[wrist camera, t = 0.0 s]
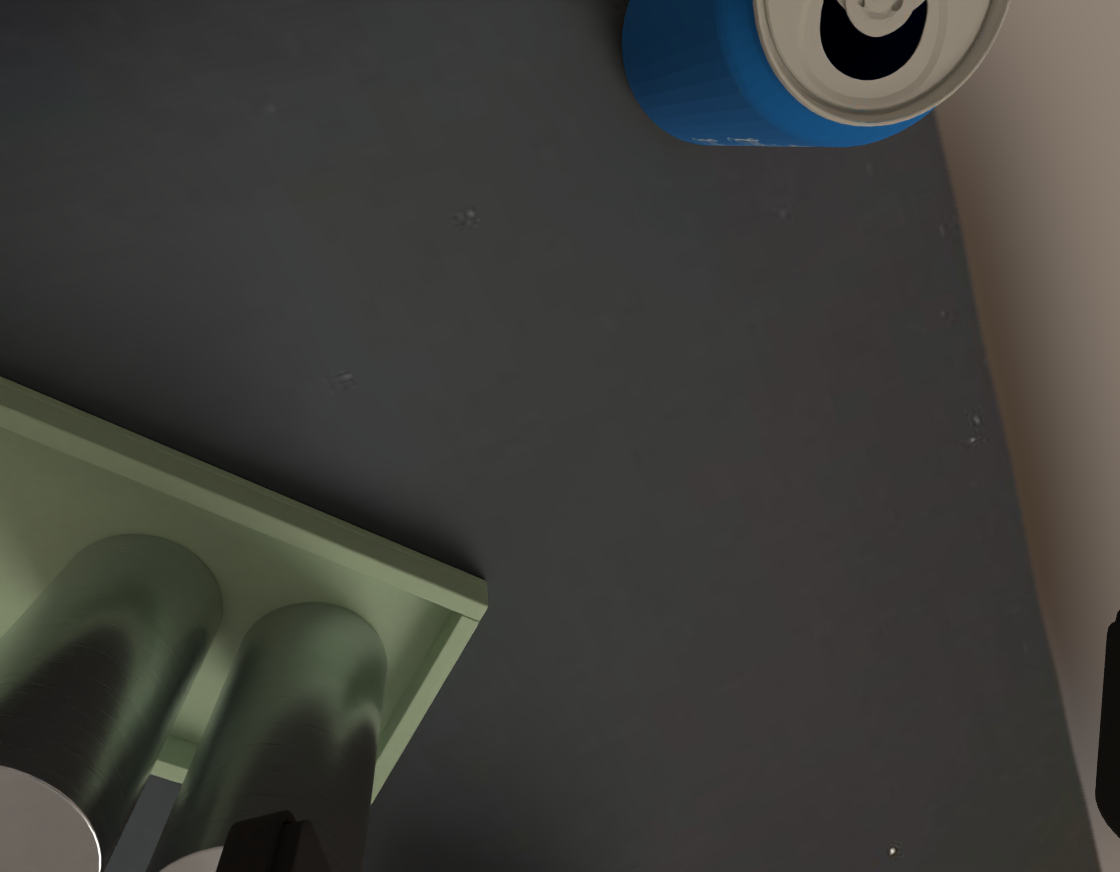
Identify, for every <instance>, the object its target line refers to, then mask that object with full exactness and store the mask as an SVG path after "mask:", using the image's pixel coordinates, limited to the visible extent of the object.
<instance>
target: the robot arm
mask: <svg viewBox="0 0 1120 872" xmlns="http://www.w3.org/2000/svg"><path fill="white" fill-rule="evenodd" d="M1102 696H1103V697H1102V709H1101V722H1100V735H1099V736H1100V737H1099V748H1098V762H1097V776H1096V789H1095V797H1096V802H1097V805H1098V808H1099V811H1100V813H1101V815H1102V817H1103V818H1104V820H1105V822H1106V823H1107V825H1108V826H1109V827H1110V828H1111V829H1112V831H1113V832H1114V833H1115V834H1117V836H1118V837H1119V838H1120V610H1119V612H1118V613H1117V617H1116V621H1115V622H1113V623H1112V624H1111V625H1110V626H1109V628H1108V632H1107V641H1106V655H1105V669H1104V681H1103V695H1102ZM216 872H331V869H330V867H329V864H328V862H327V859H326V857H325V854H324V852H323V849H322V847H321V844H320V842H319V839H318V837H317V834H316V832H315V829H314V827H313V825H312V823H311V822H310V821H309V820H308V819H307V820H302V821H298V822H297V821H296V819H295V817H294V816H293V814H292V813H291V812H290V811H289V810H283V811H279V812H275V813H271V814H267V815H263V816H259V817H255V818H251V819H246V820H242V821H238V822H235V823H234V824H233V825H232V826H231V828H230V830H229V832H228V835H227V838H226V841H225V844H224V847H223V850H222V853H221V856H220V859H219V863H218V866H217V869H216Z"/></svg>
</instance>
